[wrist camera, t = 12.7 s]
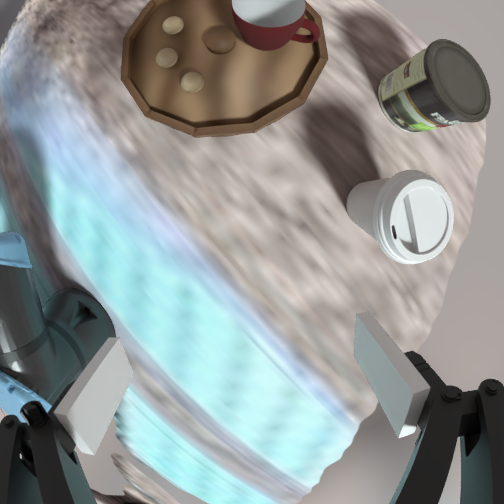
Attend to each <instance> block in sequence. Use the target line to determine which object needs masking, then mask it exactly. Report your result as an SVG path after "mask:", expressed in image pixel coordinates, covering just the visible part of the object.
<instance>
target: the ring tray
mask: <svg viewBox="0 0 504 504" xmlns="http://www.w3.org/2000/svg"><path fill="white" fill-rule="evenodd" d="M305 2H306V1H305ZM172 16H177V17H179V18H181V19H182V20H183V23H184V26H183V28H182V30H181V31H180V32H179V33H177V34H173V35H171V34H167V33H165V32H164V31H163V28H162V25H163V22H164V21H165V20H166V19H167V18H169V17H172ZM304 18H306V19H309V20H311V21H313V22H314V23H316V24H317V25H318V27H319V29H320V37H319V39H318V40H317V41H315V42H313V43H300V42H296V41H292V40H290V41H289V42H288V43H287V44H285V45H284V46H282V47H281V48H279V49H276V50H272V51H262V50H258V49H255V48H253V47H251V46H250V45H249V44H247V43H246V42H245V41H244V39H243V38H242V36H241V34H240V32H239V30H238V28H237V26H236V24H235V22H234V20H233V16H232V9H231V0H151V1H150V2H149V3H148V4H147V6H146V7H145V8H144V10H143V11H142V12H141V14H140V15H139V16H138V18H137V19H136V21H135V22H134V23H133V25H132V26H131V28H130V29H129V31H128V32H127V34H126V35H125V37H124V42H123V53H122V67H121V80H122V82H123V83H124V85H125V87H126V88H127V90H128V91H129V93H130V94H131V96H132V97H133V99H134V100H135V102H136V103H137V105H138V106H139V108H140V109H141V111H142V112H143V114H144V115H145V116H146V117H148V118H150V119H152V120H155V121H157V122H160V123H162V124H165V125H167V126H170V127H172V128H174V129H176V130H179V131H182V132H184V133H187V134H189V135H191V136H194V137H196V138H200V137H209V136H211V137H218V136H232V135H239V134H244V133H255V132H257V131H259V130H260V129H262V128H264V127H265V126H268V125H270V124H272V123H274V122H276V121H277V120H279V119H281V118H282V117H284V116H285V115H287V114H288V113H290V112H291V111H293V110H294V109H296V108H298V107H300V106H301V105H303V104H304V103H305V101H306V99H307V97H308V95H309V94H310V92H311V90H312V88H313V86H314V84H315V82H316V81H317V79H318V77H319V75H320V73H321V71H322V70H323V68H324V66H325V64H326V62H327V61H328V54H327V47H326V41H325V36H324V30H323V25H322V19H321V16H320V15H319V14H318V13H317V12H316V11H315V10H314V9H313V8H312V7H311V6H310V5H309V4H308V3H307V2H306V11H305V15H304ZM295 34H301V35H310V34H312V33H311V32H310V31H309V30H307V29H305V28H299V29H298V30H297V31H296V33H295ZM164 48H172V49H174V50H175V51H176V52H177V55H178V59H177V62H176V63H175V64H174V65H173V66H171V67H169V68H163V67H160V66H159V65H158V64H157V63H156V55H157V53H158V52H159V51H160V50H162V49H164ZM188 72H198V73H200V74H201V75H202V76H203V78H204V85H203V87H202V89H201V90H199V91H198V92H196V93H188V92H186V91H184V90H183V88H182V87H181V79H182V77H183V76H184V75H185V74H186V73H188Z"/></svg>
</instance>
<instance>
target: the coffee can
mask: <svg viewBox="0 0 504 504" xmlns="http://www.w3.org/2000/svg"><path fill="white" fill-rule="evenodd" d="M378 98H379V103H380V105H381V108H382V110H383V112H384V114H385V115H386V117H387V118H388V119H389V121H390V122H391V123H392V124H393V125H394V126H396V127H397V128H399V129H400V130H402V131H405V132H408V133H420V132H423V131H427V130H431V129H436V128H441V127H446V126H451V125H456V124H461V123H466V122H479V121H481V120H483V119H484V118H485V117H486V115H487V114H488V112H489V109H490V100H491V99H490V91H489V86H488V83H487V80H486V77H485V75H484V73H483V71H482V69H481V67H480V66H479V64H478V63H477V62H476V60H475V59H474V58H473V56H472V55H471V54H470V53H469V52H468V51H467V50H465V49H464V48H463V47H462V46H460V45H459V44H457V43H455V42H452V41H450V40H446V39H439V40H436V41H434V42H433V43H431V44H430V45H429V46H428V47H427V48H426V49H424V50H422V51H421V52H419V53H418V54H416V55H415V56H413V57H412V58H411V59H409V60H408V61H406V62H405V63H403V64H402V65H400V66H399V67H397V68H396V69H395V70H393V71H392V72H390V73H388V74H387V75H385V76H384V77H383V79H382V80H381V82H380V84H379V88H378Z"/></svg>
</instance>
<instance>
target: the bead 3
mask: <svg viewBox="0 0 504 504" xmlns="http://www.w3.org/2000/svg"><path fill="white" fill-rule="evenodd" d="M203 85H204V78H203V76H202V75H201V74H200V73H198V72H188V73H186V74H185V75H184V76H183V77H182V79H181V87H182V88H183V90H184V91H186V92H188V93H196V92H198V91H199V90H201V89H202V87H203Z"/></svg>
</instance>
